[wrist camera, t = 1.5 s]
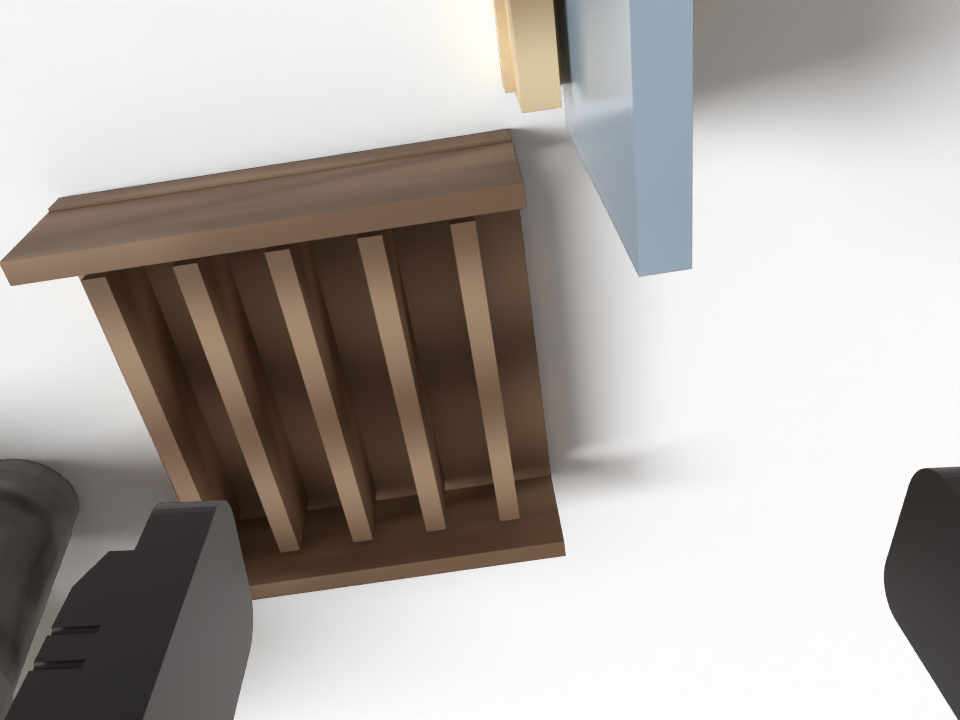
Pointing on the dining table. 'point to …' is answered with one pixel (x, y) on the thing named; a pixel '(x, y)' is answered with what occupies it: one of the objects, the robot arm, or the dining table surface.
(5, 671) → the beverage cup
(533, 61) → the plate stand
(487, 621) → the dining table surface
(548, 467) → the rack
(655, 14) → the plate
